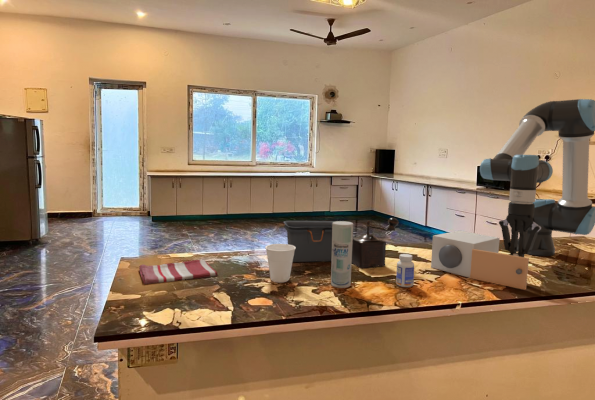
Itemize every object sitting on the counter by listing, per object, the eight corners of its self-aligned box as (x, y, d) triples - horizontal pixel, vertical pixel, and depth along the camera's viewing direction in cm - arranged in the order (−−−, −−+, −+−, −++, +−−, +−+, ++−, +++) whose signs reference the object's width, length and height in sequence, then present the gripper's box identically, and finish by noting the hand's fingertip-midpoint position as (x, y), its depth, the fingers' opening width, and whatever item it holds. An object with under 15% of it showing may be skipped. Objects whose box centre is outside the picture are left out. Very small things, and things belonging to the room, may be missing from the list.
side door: (526, 289, 134) (528, 258, 133) (524, 290, 132) (527, 259, 131) (471, 277, 145) (473, 248, 144) (468, 278, 143) (471, 249, 142)
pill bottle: (414, 283, 138) (416, 254, 137) (411, 288, 133) (413, 258, 132) (397, 281, 140) (399, 252, 139) (394, 285, 136) (395, 256, 134)
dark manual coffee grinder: (361, 269, 154) (363, 220, 151) (348, 261, 164) (349, 215, 162) (398, 266, 159) (401, 218, 157) (383, 258, 169) (385, 213, 167)
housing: (457, 260, 169) (459, 230, 168) (497, 269, 157) (499, 237, 155) (428, 268, 157) (430, 236, 155) (468, 279, 144) (471, 244, 143)
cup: (299, 277, 142) (299, 245, 141) (288, 286, 133) (289, 252, 131) (271, 274, 145) (272, 242, 144) (259, 282, 136) (260, 248, 135)
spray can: (351, 282, 138) (354, 221, 136) (350, 288, 132) (352, 225, 129) (331, 280, 139) (333, 220, 137) (329, 287, 133) (331, 224, 130)
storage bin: (332, 254, 174) (333, 219, 172) (344, 264, 159) (345, 227, 157) (281, 255, 170) (282, 220, 168) (288, 266, 155) (289, 228, 153)
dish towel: (138, 271, 146) (138, 264, 146) (205, 264, 157) (205, 257, 156) (144, 286, 131) (143, 278, 131) (218, 277, 142) (218, 269, 141)
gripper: (496, 200, 141) (490, 270, 144) (538, 205, 131) (531, 279, 134) (506, 199, 145) (501, 266, 148) (548, 203, 135) (541, 275, 138)
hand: (515, 272), depth 141 cm, fingers closed
